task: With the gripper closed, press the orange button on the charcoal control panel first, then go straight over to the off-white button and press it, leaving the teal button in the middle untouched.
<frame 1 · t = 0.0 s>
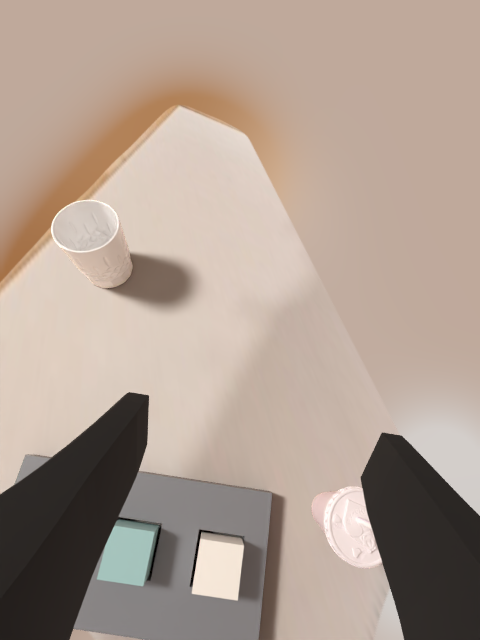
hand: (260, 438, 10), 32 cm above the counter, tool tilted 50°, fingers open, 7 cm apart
white button: (218, 563, 33), point 3 cm above the counter, slide at 0.0 cm
button panel: (136, 542, 35), on the counter
smoothie: (326, 509, 38), on the counter
teal button: (130, 550, 33), point 3 cm above the counter, slide at 0.0 cm
white cup: (110, 269, 48), on the counter
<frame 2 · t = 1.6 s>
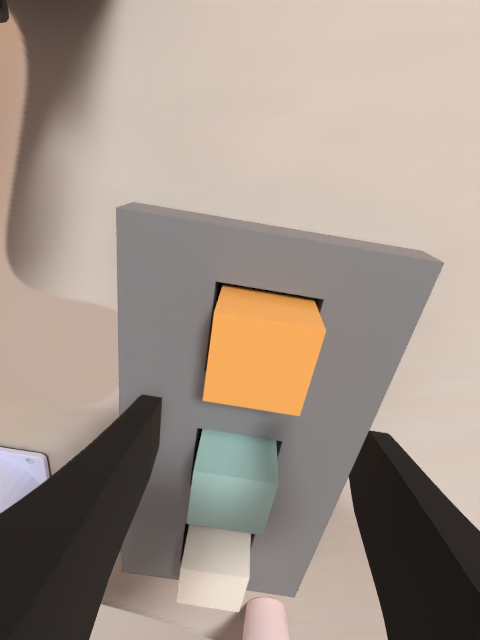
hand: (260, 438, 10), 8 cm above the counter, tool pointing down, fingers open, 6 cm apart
orange button: (260, 348, 15), point 3 cm above the counter, slide at 0.0 cm
white button: (214, 564, 23), point 3 cm above the counter, slide at 0.0 cm
button panel: (235, 439, 21), on the counter
smoothie: (265, 604, 31), on the counter
teal button: (232, 478, 19), point 3 cm above the counter, slide at 0.0 cm
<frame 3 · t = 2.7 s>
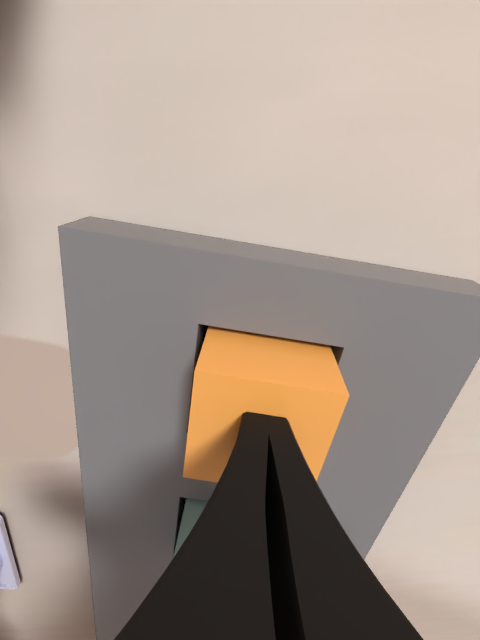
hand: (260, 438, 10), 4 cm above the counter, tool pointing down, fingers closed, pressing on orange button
orange button: (258, 405, 11), point 3 cm above the counter, slide at 0.4 cm, touching gripper
button panel: (229, 499, 18), on the counter
teal button: (224, 559, 15), point 3 cm above the counter, slide at 0.0 cm
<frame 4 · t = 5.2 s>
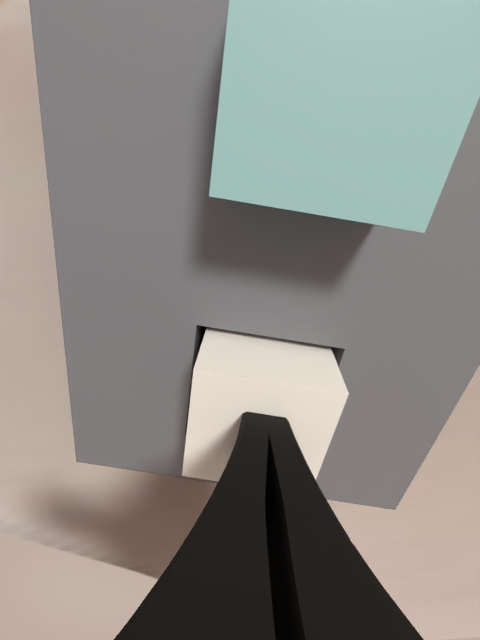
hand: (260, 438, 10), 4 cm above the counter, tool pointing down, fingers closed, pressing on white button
white button: (257, 403, 11), point 2 cm above the counter, slide at 0.6 cm, touching gripper
button panel: (311, 116, 10), on the counter
teal button: (331, 98, 7), point 3 cm above the counter, slide at 0.0 cm
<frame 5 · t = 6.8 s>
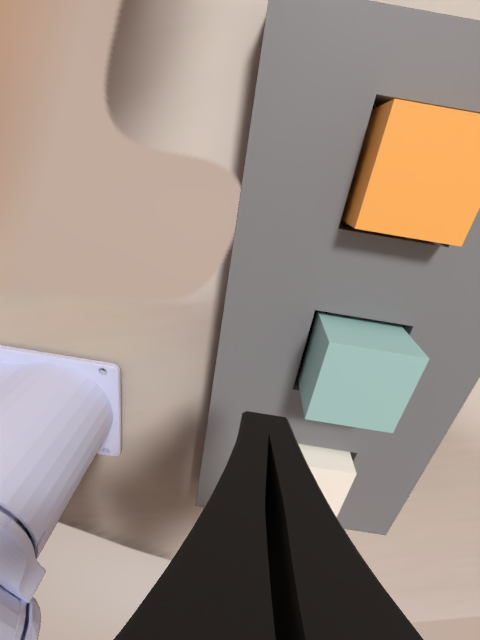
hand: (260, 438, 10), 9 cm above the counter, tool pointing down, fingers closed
orange button: (412, 177, 13), point 2 cm above the counter, slide at 1.3 cm
white button: (307, 470, 21), point 2 cm above the counter, slide at 1.3 cm
button panel: (340, 341, 19), on the counter
teal button: (354, 370, 16), point 3 cm above the counter, slide at 0.0 cm
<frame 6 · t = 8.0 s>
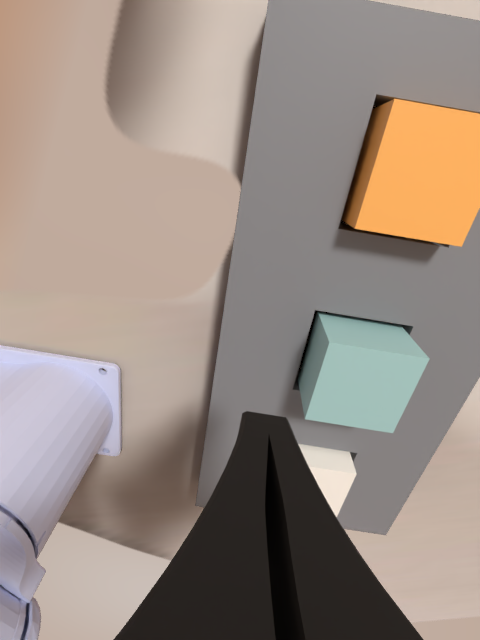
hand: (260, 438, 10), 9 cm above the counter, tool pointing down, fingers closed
orange button: (412, 177, 13), point 2 cm above the counter, slide at 1.3 cm
white button: (307, 470, 21), point 2 cm above the counter, slide at 1.3 cm
button panel: (340, 341, 19), on the counter
teal button: (354, 370, 16), point 3 cm above the counter, slide at 0.0 cm
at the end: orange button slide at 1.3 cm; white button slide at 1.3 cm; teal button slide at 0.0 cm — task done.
